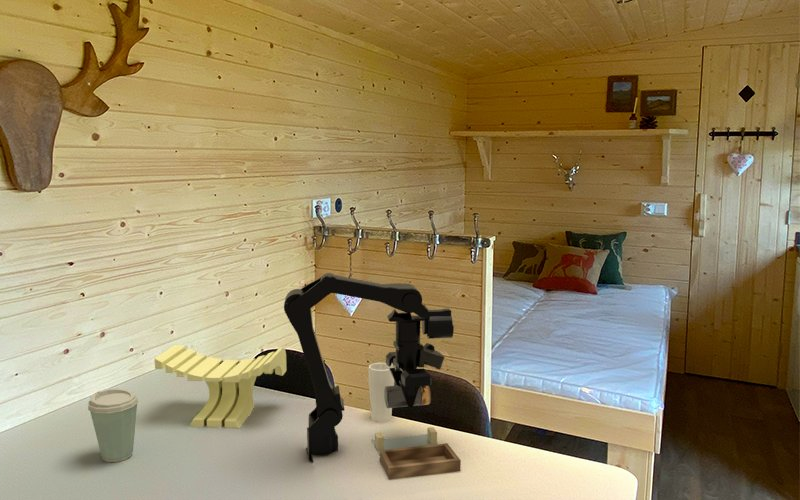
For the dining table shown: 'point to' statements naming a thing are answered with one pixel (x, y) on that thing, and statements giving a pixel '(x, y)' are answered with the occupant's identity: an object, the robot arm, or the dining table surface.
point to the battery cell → (397, 399)
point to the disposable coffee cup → (114, 422)
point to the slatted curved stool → (222, 382)
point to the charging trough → (419, 461)
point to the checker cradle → (405, 440)
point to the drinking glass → (379, 391)
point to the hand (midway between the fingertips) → (407, 403)
